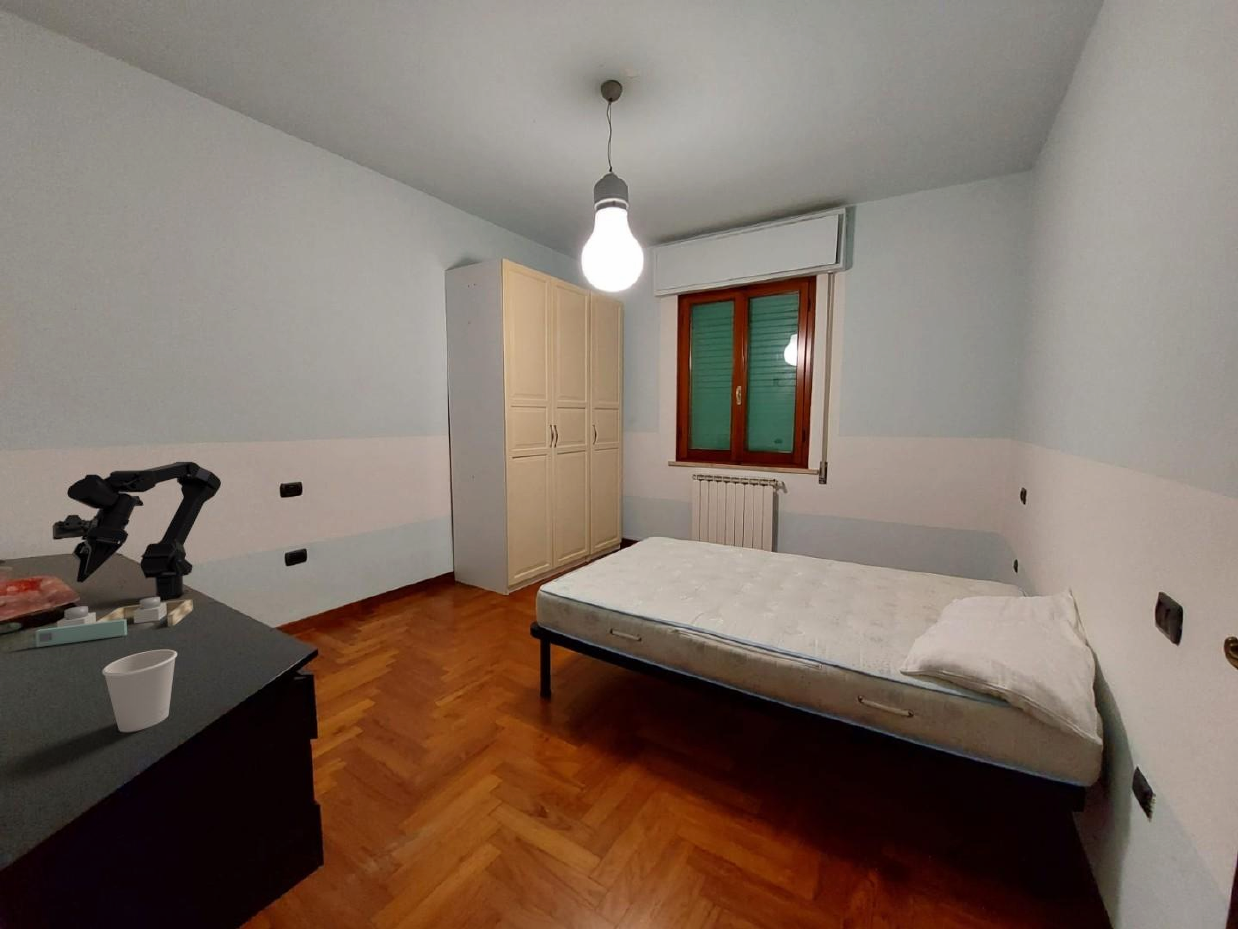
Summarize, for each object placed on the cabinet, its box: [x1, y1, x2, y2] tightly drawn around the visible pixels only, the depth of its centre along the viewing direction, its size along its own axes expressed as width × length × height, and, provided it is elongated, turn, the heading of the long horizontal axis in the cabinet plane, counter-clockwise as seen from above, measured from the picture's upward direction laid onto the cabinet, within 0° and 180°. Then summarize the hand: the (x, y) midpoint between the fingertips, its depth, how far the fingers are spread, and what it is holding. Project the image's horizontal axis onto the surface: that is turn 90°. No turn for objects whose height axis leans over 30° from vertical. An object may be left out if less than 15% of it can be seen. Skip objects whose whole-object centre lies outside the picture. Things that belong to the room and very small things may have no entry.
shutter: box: [35, 619, 128, 648], centre depth 103 cm, size 1×14×4 cm, turn 115°
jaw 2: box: [133, 596, 168, 624], centre depth 116 cm, size 4×4×5 cm
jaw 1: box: [56, 605, 97, 627], centre depth 110 cm, size 4×4×5 cm
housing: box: [95, 598, 194, 632], centre depth 114 cm, size 12×14×3 cm
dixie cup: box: [101, 649, 178, 733], centre depth 74 cm, size 8×8×10 cm
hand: (83, 578), depth 108 cm, fingers open, 9 cm apart
